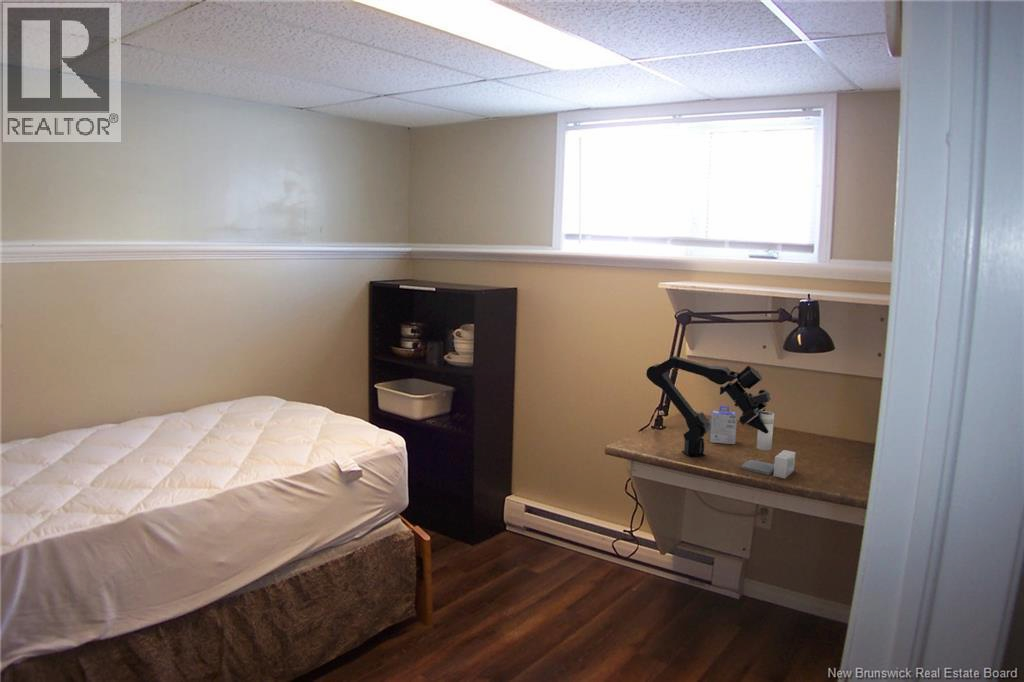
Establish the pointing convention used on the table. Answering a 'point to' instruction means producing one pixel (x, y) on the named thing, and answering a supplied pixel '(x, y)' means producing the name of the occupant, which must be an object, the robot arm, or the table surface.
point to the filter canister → (765, 439)
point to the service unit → (784, 464)
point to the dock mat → (758, 467)
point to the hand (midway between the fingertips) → (769, 431)
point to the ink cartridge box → (723, 426)
